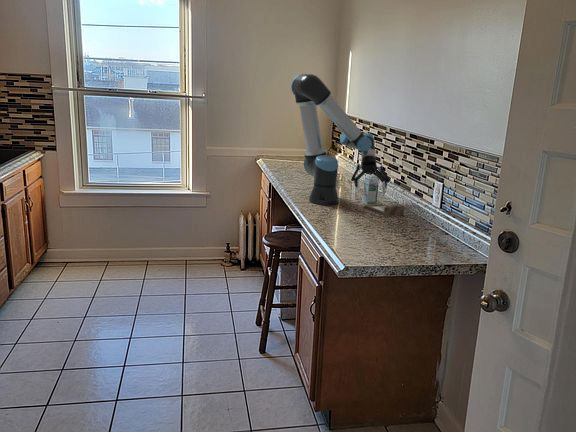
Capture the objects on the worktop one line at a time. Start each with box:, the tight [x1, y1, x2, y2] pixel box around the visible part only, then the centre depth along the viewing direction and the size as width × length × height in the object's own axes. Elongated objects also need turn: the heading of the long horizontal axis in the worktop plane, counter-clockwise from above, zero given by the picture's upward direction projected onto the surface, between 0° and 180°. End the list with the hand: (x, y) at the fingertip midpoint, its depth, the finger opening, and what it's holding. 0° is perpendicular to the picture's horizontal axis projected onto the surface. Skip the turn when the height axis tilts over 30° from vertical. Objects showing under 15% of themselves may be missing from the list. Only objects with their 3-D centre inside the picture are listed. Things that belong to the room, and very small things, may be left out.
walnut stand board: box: [363, 203, 405, 217], centre depth 255 cm, size 12×16×4 cm
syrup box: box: [361, 175, 380, 206], centre depth 267 cm, size 6×6×14 cm
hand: (371, 192), depth 265 cm, fingers open, 13 cm apart
